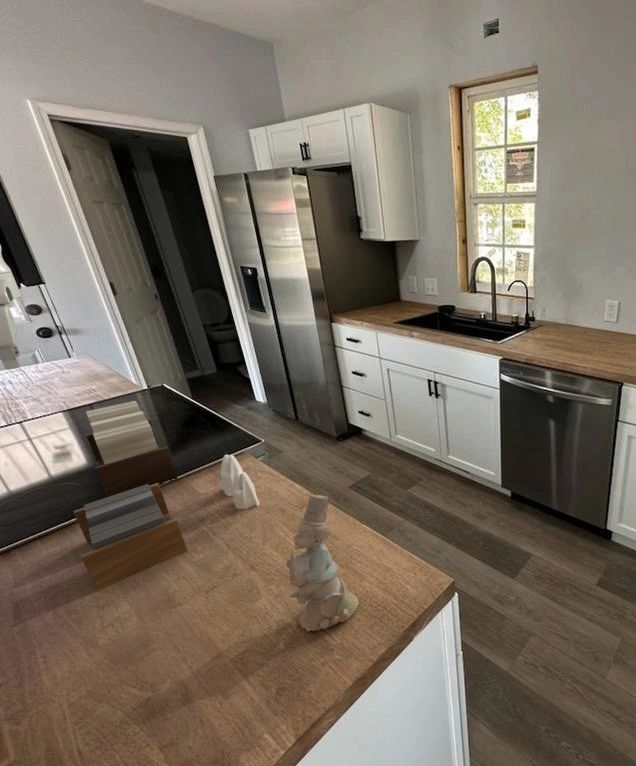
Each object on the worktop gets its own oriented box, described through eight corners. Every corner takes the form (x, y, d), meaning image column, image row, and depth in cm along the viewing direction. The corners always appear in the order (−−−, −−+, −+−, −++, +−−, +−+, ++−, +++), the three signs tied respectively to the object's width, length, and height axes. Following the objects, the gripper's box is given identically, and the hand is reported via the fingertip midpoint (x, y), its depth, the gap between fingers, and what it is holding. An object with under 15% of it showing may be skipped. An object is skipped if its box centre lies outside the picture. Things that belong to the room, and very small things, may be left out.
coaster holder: (189, 557, 75) (175, 515, 72) (100, 597, 67) (79, 552, 63) (170, 516, 85) (156, 478, 82) (90, 547, 77) (71, 506, 73)
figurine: (345, 580, 71) (329, 483, 64) (365, 612, 65) (349, 510, 58) (289, 609, 66) (264, 506, 58) (306, 647, 60) (281, 539, 52)
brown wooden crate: (177, 478, 97) (159, 424, 92) (109, 502, 89) (85, 443, 84) (159, 447, 110) (142, 397, 105) (97, 464, 102) (76, 412, 97)
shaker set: (222, 494, 92) (210, 452, 88) (243, 486, 95) (232, 444, 91) (241, 519, 85) (228, 473, 81) (263, 509, 88) (252, 465, 84)
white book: (159, 460, 102) (143, 413, 97) (110, 475, 95) (91, 425, 91) (158, 457, 103) (142, 410, 98) (109, 472, 97) (90, 422, 92)
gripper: (-41, 284, 79) (-10, 353, 84) (-54, 299, 66) (-15, 379, 71) (9, 282, 83) (36, 347, 88) (6, 295, 70) (38, 370, 75)
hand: (13, 362), depth 79 cm, fingers open, 8 cm apart
